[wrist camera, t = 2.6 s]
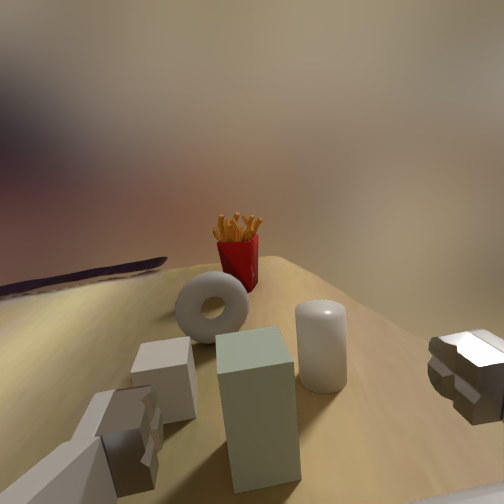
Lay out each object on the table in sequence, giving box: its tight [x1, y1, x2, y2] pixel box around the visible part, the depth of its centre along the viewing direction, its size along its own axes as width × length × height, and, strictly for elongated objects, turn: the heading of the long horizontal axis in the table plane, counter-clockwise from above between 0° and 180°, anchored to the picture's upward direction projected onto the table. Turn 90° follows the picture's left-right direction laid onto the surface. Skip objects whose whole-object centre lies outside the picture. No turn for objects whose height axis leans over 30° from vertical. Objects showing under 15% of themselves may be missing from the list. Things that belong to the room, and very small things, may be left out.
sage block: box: [215, 326, 302, 494], centre depth 24 cm, size 5×5×10 cm
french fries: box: [213, 212, 263, 291], centre depth 59 cm, size 9×8×15 cm
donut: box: [175, 271, 249, 344], centre depth 42 cm, size 10×3×10 cm, turn 109°
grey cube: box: [130, 336, 198, 424], centre depth 31 cm, size 5×5×6 cm
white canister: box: [295, 300, 347, 394], centre depth 33 cm, size 5×5×8 cm
